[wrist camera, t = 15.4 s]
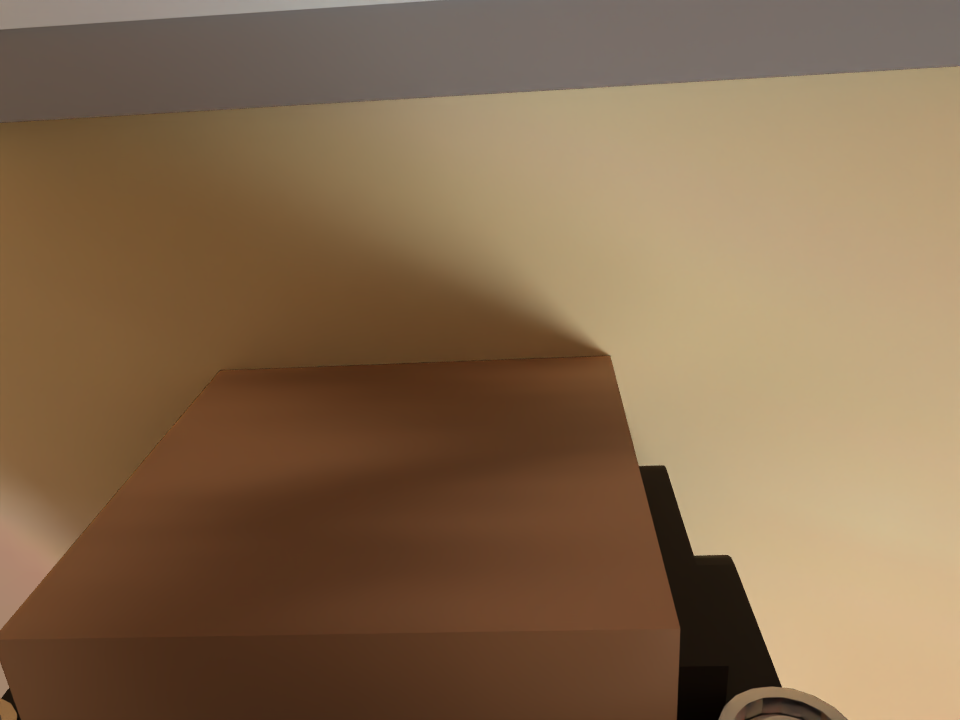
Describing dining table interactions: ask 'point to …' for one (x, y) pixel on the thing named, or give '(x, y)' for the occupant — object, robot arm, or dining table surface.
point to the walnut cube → (367, 558)
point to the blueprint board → (432, 48)
